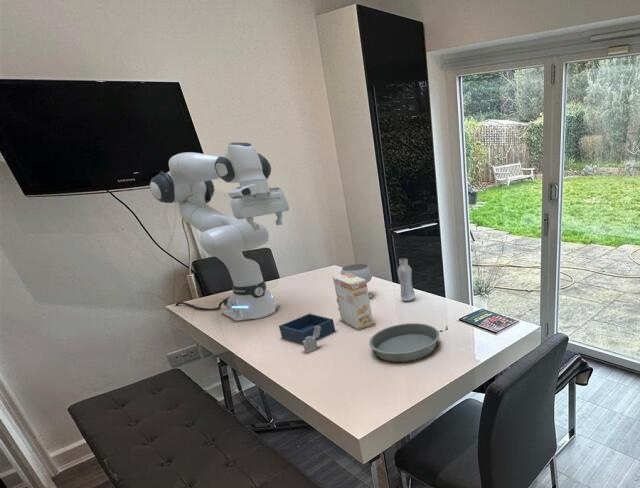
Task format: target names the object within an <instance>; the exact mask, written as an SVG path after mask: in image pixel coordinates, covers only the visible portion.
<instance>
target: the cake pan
mask: <svg viewBox="0 0 640 488" xmlns="http://www.w3.org/2000/svg"><path fill="white" fill-rule="evenodd" d="M439 338H440V332H439V330H438V329H437V328H436V327H434V326H432V325H429V324H425V323H417V322H416V323H415V322H411V323H410V322H409V323H408V322H407V323H399V324H395V325H392V326H391V325H390V326H387V327H385V328H383V329H381V330H379V331H377V332H376V333H374V334H373V335H372V336H371V337H370V339H369V341H368V342H369V346H370V349H372V350H374V352H375V353H376V355H377V357H378V358H380V359H381V360H383V361H388V362H393V363H394V362H395V363H403V362H412V361H416V360H419V359H422V358H424V357H426V356H428V355H430V354H431V353H432V352H433V351H435V349H436V347H437V341H438V340H439Z"/></svg>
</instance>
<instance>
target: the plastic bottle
mask: <svg viewBox="0 0 640 488" xmlns="http://www.w3.org/2000/svg"><path fill="white" fill-rule="evenodd" d="M398 264H399V266H398V267H397V270H396V272H397V275H398V279H399V284H400V298H401V300H402V301H403V302H410V301H413V300H414V299H415V298H416V297H415V296H416V294H415V290H414V287H413V279H412V278H413V277H412V276H413V275H412V274H413V271H412V270H413V269H412V267H411V266H410V265H409V261H408V258H407V257H406V258H405V257H401V258H399V259H398Z"/></svg>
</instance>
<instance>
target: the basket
mask: <svg viewBox="0 0 640 488" xmlns="http://www.w3.org/2000/svg"><path fill="white" fill-rule="evenodd" d="M315 326H320V327H321V330H320V335H319V338H315V339H316V341H318V340H321V339H322V338H324V337H326V336H329V335H331V334H333V333H335V332H336V327H335V322H334V318H331V317H330V318H329V317H325V316H321V315H318V314H314V313H307V314H304V315H302V316H299V317H298V318H297V317H296V318H295V319H293V320H290V321H288V322H285V323H282V324H280V325H278V329H279V332H280V337H281V339H284V340H285V341H286V340H287V341H290V342H293V343H296V344H299V345H303V342H302V341H304V340H305V338H306V337H308V336H312V337H313V333H314V328H315Z"/></svg>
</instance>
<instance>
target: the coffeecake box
mask: <svg viewBox="0 0 640 488" xmlns="http://www.w3.org/2000/svg"><path fill="white" fill-rule="evenodd" d="M332 279H333V284H334V290H335V295H336V301H337V300H338V303H337V305H338V310H339V315H340V320H341V321H342V322H344V323H345V324H348V325H349V326H351V327H352V328H355V329H356V330H361V329H364V328H368V327H370V326H373V325H374V320H373V313H372V308H371V301H370V298H369V295H368V292H369V289H368V283H367V282H366V280H365V279H362V278H360V277H357V276H355V275H352V274H350V273H346V274H341V273H340V274H338V275H334V276H332Z"/></svg>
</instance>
